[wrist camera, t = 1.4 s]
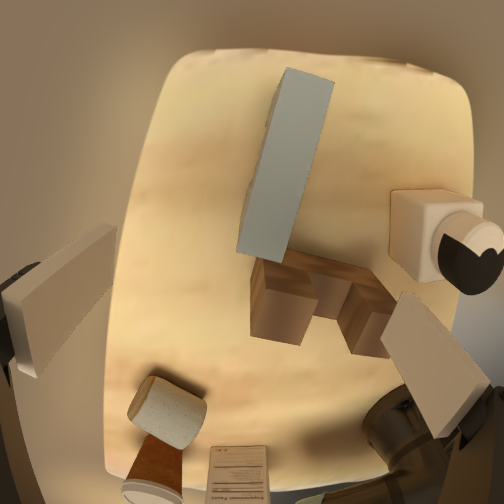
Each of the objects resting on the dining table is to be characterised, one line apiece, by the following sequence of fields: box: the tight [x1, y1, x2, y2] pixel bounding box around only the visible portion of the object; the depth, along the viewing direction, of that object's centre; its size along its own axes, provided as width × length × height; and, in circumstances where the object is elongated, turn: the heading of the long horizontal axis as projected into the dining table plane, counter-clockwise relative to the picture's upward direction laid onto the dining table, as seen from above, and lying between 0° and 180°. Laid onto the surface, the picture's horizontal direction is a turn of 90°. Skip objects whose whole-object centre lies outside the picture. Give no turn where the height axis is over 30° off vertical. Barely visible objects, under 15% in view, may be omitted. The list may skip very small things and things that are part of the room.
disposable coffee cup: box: [120, 434, 184, 504], centre depth 36 cm, size 10×10×12 cm
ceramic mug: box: [127, 376, 207, 450], centre depth 34 cm, size 11×8×8 cm
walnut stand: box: [250, 249, 397, 359], centre depth 26 cm, size 12×4×10 cm, turn 75°
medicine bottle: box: [389, 189, 504, 295], centre depth 24 cm, size 7×7×12 cm
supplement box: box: [205, 446, 270, 504], centre depth 36 cm, size 9×9×15 cm
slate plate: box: [236, 67, 334, 263], centre depth 23 cm, size 3×12×10 cm, turn 165°
